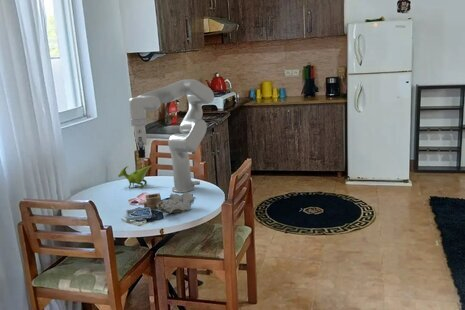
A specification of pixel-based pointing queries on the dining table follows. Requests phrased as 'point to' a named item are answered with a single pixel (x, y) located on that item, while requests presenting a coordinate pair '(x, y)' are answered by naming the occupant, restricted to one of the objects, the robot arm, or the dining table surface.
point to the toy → (135, 176)
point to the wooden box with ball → (152, 201)
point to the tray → (129, 212)
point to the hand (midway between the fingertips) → (142, 155)
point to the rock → (176, 203)
